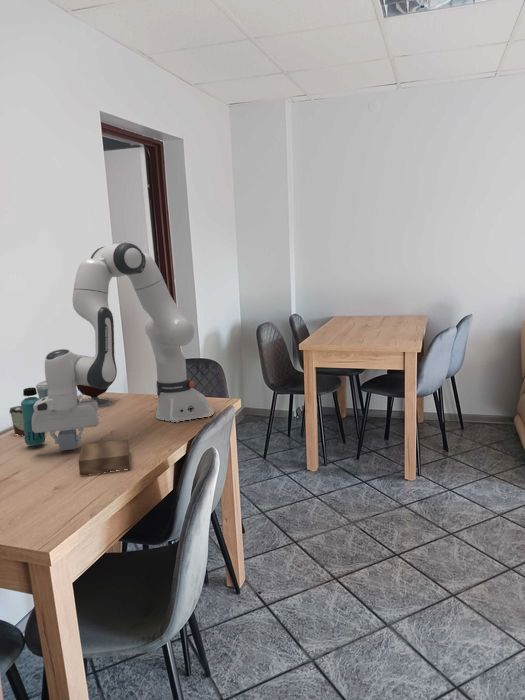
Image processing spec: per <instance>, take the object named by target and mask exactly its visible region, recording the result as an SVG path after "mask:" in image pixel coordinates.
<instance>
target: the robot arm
mask: <svg viewBox="0 0 525 700" xmlns="http://www.w3.org/2000/svg"><path fill="white" fill-rule="evenodd" d="M123 276H127V277H128V278H129V279H130V281H131V284H132V287H133V289H134V292H135V293H136V296H137V299H138V301H139V303H140V304H141V307H142V309H143V310H144V311H145V313H147V314H148V315H149V317H148V319H147V320H146V321H145V324H144V331H145V333H146V335H147V337H148V339H149V341H150V345H151V348H152V351H153V355H154V358H155V365H156V376H157V377H156V378H157V380H156V384H155V385H156V395H157V408H156V412H155V413H156V414H155V418H156V419H158V420H160V421H164V420H165V422H170V421H171V422H170V423H174V422H176V423H180V422H179V421H183V422H185V421H184V420H189V421H191V420H190V419H195V418H199V417H203V416H208V415H212V414H213V413H214V414H215V410H214V411H213V409H214V408H213V407H212V406H211V407H212V408H213V409H212V408H211V407H209V406H210V405H209V402H208V400H207V397H206V396H205V395H204V394H203V393H201V392H200V391H198V390H197V389H195V388H194V387H195V382H194V381H193V380H192V379H191V378H187V377H188V376H187V363H186V358H185V356H184V354H183V352H182V350H181V347H183V346H187V345H188V344H190V343H191V342H192V341H193V339H194V336H195V328H194V326H193V324H192V322H190V320H188V319H187V318H186V317H185V315H184V314H183V313H182V311H181V309H180V308H179V306H178V305H177V304H176V302H175V301H174V299H173V297H172V295H171V293H170V291H169V289H168V286H167V284H166V282H165V279H164V277H163V275H162V273H161V271H160V268H159V267H158V265H157V263H156V262H155V260H154V259H153V257H152V256H151V255H150V254H149V253H147V252H143V251H142V250H141V249H140V248H139V246H137V245H136V244H134V243H131V242H121V243H119V242H117V243H112V244H109V245H106V246H101V247H99V248H97V249H96V250H95V251H94V252H93V253H92V254H91V256H90V258H87V259H84V260H82V261H81V262H80V263H79V265H78V268H77V271H76V275H75V280H74V284H73V289H72V290H73V292H72V308H73V309H74V311H75V313H77V315H79V316H80V317H81V318H82V319H84V320H85V321H87V322H89V324H91V326H92V327H93V330H94V336H95V337H94V340H95V344H94V346H95V354H94V356H88V355H81V354H77V353H74V352H71V351H70V350H69V349H65V348H62V349H56V350H53V351H51V352H48V354H47V355H46V356H45V358H44V359H45V360H44V376H45V381H46V382H47V385H48V392H47V394H48V396H47V397H45V398H42V399H39V400H38V401H36V402H35V404H34V406H33V409H34V413H33V415H32V431H33V432H35V433H41V432H45V433H49V435H50V436H51V438H52V439H53V441H54V444H55V445H57V444H58V445H59V441H58V435H57V434H56V432H57V431H58V432H60V431H61V430H70V429H76V430H77V431H78V432H79V433H78V434H77V435H76V437H75V438H76V442H82V441H81V440H82V434H83V431H84V429H85V428H87V429H88V428H95V427H97V426H98V425H99V421H100V420H99V419H100V418H99V414H98V409H99V408H98V403H97V401H96V400H94V399H92V398H91V397H90V398H89V397H88V398H82V399H81V398H79V399H78V388H77V385H84V386H91V387H94V388H98V389H105V388H108V387H110V386H111V385H112V384H113V383H114V382H115V380H116V378H117V374H118V373H117V371H118V368H117V364H116V358H115V325H114V323H115V322H114V315H113V313H112V311H111V310H110V307H109V300H108V299H109V289H110V287H109V286H110V281H111V280H112V278H118V277H119V278H120V277H123ZM108 389H109V388H108ZM209 412H213V413H209Z"/></svg>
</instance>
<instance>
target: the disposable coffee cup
mask: <svg viewBox="0 0 525 700" xmlns="http://www.w3.org/2000/svg"><path fill="white" fill-rule="evenodd" d="M35 388H36V392H37V395H38V398H39V399H42V398H45V397H47V396H48V394H47V392H48V385H47V382H46V380H43V381H40V382H38V383H37V384H36V385H35Z"/></svg>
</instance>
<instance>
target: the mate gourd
mask: <svg viewBox="0 0 525 700" xmlns="http://www.w3.org/2000/svg"><path fill="white" fill-rule="evenodd" d="M109 387H110V386H109ZM109 387H108V388H105V389H98V388H94V387H91V386H84V385H77V386H76V389H77V391H79V392H80V393H81V395H83V396H87V397H90V398H92V399H94V400H96V401H97V403H98V409H101V407H102V408H105V407H108V406H110V404H111V400H109V399H105V398H103V399H102V398H99V396H101V395H102V394H104V393H106V392H107V391H108V389H109Z"/></svg>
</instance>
